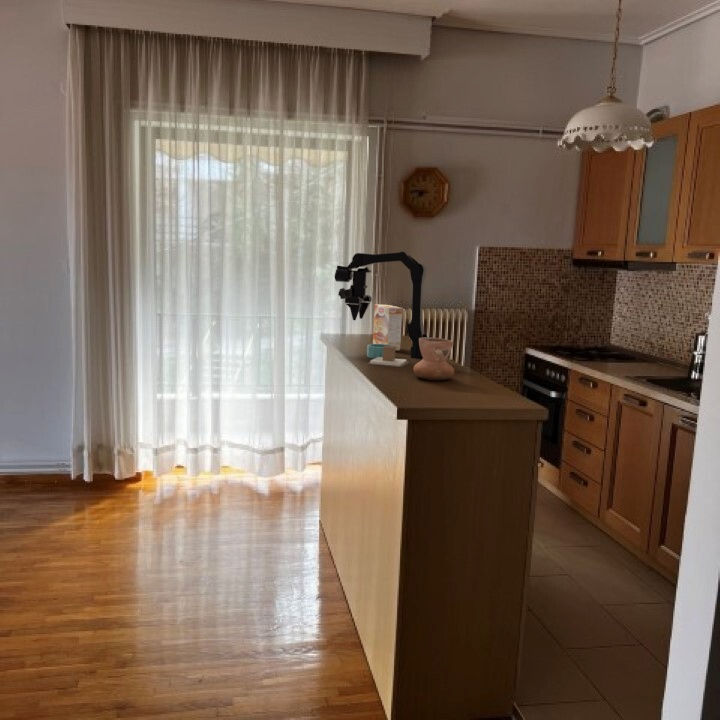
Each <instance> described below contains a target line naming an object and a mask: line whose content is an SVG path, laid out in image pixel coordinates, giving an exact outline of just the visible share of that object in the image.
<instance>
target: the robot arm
mask: <svg viewBox="0 0 720 720" xmlns="http://www.w3.org/2000/svg"><path fill="white" fill-rule="evenodd" d="M391 262H392V263H393V262H401V263H402V264H403V265H404V266H405V267H406V268H407V269H408V270H409V273H410V278H411V279H410V280H411V284H412V299H411V300H412V304H411V307H412V308H411V320H410V322H407V323H406V326H407V327H406V328H407V331H406V334H407V336H408V339H410V340H411V341H412V344H411V345H412V346H410V355H409V356H410V359H418V360H419V359H420V360H422V359H423V357H422V354H421V351H420V346H419V338H424V337H427V338H429V337H428V336H427V335H426V333H425V327H424V323H423V315H422V314H423V290H424V289H423V285H424V282H425V280H426V279H425V278H426V273H427V267H426V266H425V264H423V263H421V262H418V261H417V260H416V259H415V258H413V257H412V256H411V255H409V253H408V252H407V251H399V252H388V253H387V252H386V253H376V254H373V253H363V252H361V253H360V252H356V253H355V254H353V256H352V258H351V262H349V264H348V265H347V266H342V265H337V266H336V269H335V273H334V280H335V282H336V283H337V282H339V283H350V282H351V281H352V284H351V285H350V287H349V288H348V289H346V288H345V287H342V288H340V289H339V291H338V294H337V295H338V297H339V298H340V300H344V303H345V305H346V306H347V307H348V308H349V310H350V314H351V317H352V321H356V320H357V318H358V315H359V320H360V319H364V316H365V314H366V312H367V310H368V308H369V305H370V304H371V302H372V296H371V295H369V294H366V291H367V288H368V285H367V273H369V274H370V273H372V270H370V268H369V267H368V266H370V265H374V264H379V263H380V264H381V263H391ZM356 269H357V270H356Z"/></svg>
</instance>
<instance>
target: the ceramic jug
mask: <svg viewBox="0 0 720 720" xmlns="http://www.w3.org/2000/svg"><path fill="white" fill-rule="evenodd" d="M427 337H428V336H427ZM427 337H424V338H419V346H420V351H421V354H422V357H423V359H420V361H419V362H417V363H415V365H414V366H413V373H414V375H415V376H416V377H418V378H421V379H423V380H427V381H434V380H435V381H437V382H438V381H444V380H445V381H446V380H449V379H451V378H452V377H453V376H454V374H455V369H454V367H453V366H452V365H451V364H450V363H449V362H447V359H448V358H449V355H450V354H451V351H452V348H453V346H454V341H453V340H450V339H447V338H440V337H428V338H427ZM435 381H434V382H435Z"/></svg>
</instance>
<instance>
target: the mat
mask: <svg viewBox="0 0 720 720" xmlns="http://www.w3.org/2000/svg"><path fill="white" fill-rule="evenodd" d="M409 363H410V362H409V361H407V362H406V363H404V364H403V365H401V366H395V367H397V368H398V367H399V368H403V367H404V366H406V365H408V364H409ZM366 364H367V365H371V364H370V361H369V362H367V363H366ZM374 365H376V366H381V365H380V364H374ZM384 366H386V367H392V366H391V365H384Z"/></svg>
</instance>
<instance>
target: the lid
mask: <svg viewBox="0 0 720 720" xmlns="http://www.w3.org/2000/svg"><path fill="white" fill-rule="evenodd" d="M395 348H396V346H384V347H383V357H377V358H372V359H370V360H369V362H370V364H369V365H375V364H380V365H379V366H385V365H391V366H390V367H396V366H401V365H403V364H404V363H406V362H408V361H407V359H404V358H396V350H395Z"/></svg>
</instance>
